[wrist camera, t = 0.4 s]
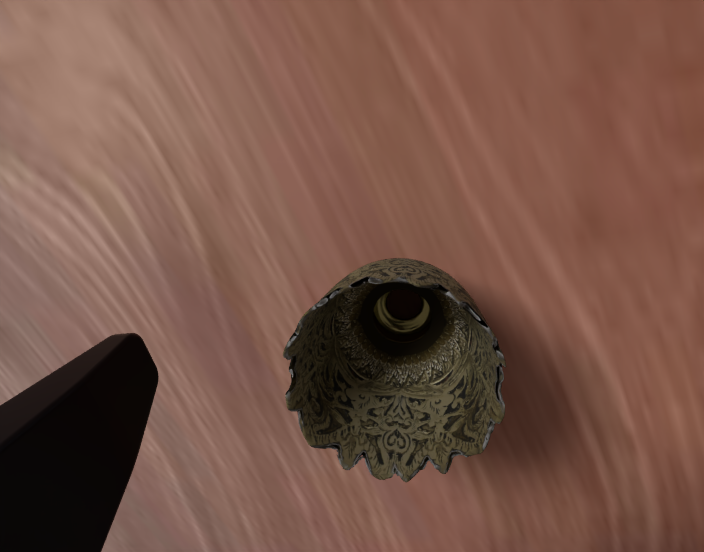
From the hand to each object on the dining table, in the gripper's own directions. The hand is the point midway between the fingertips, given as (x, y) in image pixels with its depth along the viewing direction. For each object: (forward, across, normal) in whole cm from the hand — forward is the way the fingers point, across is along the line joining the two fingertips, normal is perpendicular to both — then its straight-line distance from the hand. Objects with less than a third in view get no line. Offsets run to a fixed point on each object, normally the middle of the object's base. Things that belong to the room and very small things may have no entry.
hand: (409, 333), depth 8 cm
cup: (+14, +2, +9) cm, 17 cm away
